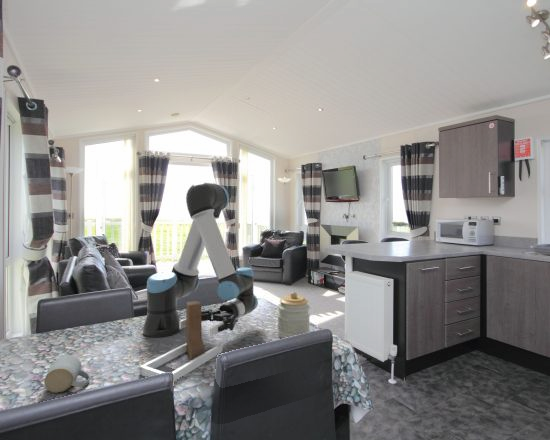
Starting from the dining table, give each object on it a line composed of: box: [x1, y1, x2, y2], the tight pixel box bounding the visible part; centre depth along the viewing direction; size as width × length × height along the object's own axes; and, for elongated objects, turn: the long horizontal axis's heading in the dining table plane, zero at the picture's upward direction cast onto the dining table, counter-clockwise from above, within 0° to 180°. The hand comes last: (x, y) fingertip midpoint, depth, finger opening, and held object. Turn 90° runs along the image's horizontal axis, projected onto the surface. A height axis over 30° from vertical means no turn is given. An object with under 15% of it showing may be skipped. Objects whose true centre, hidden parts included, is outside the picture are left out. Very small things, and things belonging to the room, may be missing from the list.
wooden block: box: [185, 300, 205, 361], centre depth 113 cm, size 9×4×18 cm, turn 25°
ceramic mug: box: [44, 354, 91, 394], centre depth 94 cm, size 11×8×8 cm
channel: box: [139, 342, 223, 383], centre depth 109 cm, size 12×25×2 cm, turn 151°
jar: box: [277, 291, 311, 339], centre depth 132 cm, size 13×13×18 cm
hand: (194, 328), depth 112 cm, fingers open, 13 cm apart
